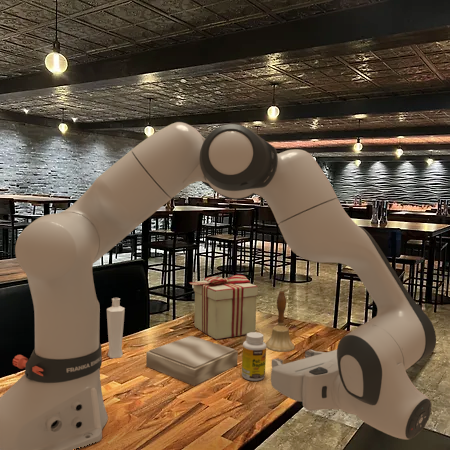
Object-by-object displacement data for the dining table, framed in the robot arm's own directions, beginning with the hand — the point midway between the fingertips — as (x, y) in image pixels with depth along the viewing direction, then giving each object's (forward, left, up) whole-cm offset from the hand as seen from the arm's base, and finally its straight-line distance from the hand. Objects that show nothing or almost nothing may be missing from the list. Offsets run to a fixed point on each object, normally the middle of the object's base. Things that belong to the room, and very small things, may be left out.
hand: (291, 357), depth 92 cm
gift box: (+25, +40, -9) cm, 48 cm away
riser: (-2, +27, -9) cm, 28 cm away
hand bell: (+26, +18, -9) cm, 32 cm away
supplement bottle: (+4, +12, -9) cm, 15 cm away
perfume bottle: (-11, +46, -9) cm, 48 cm away
